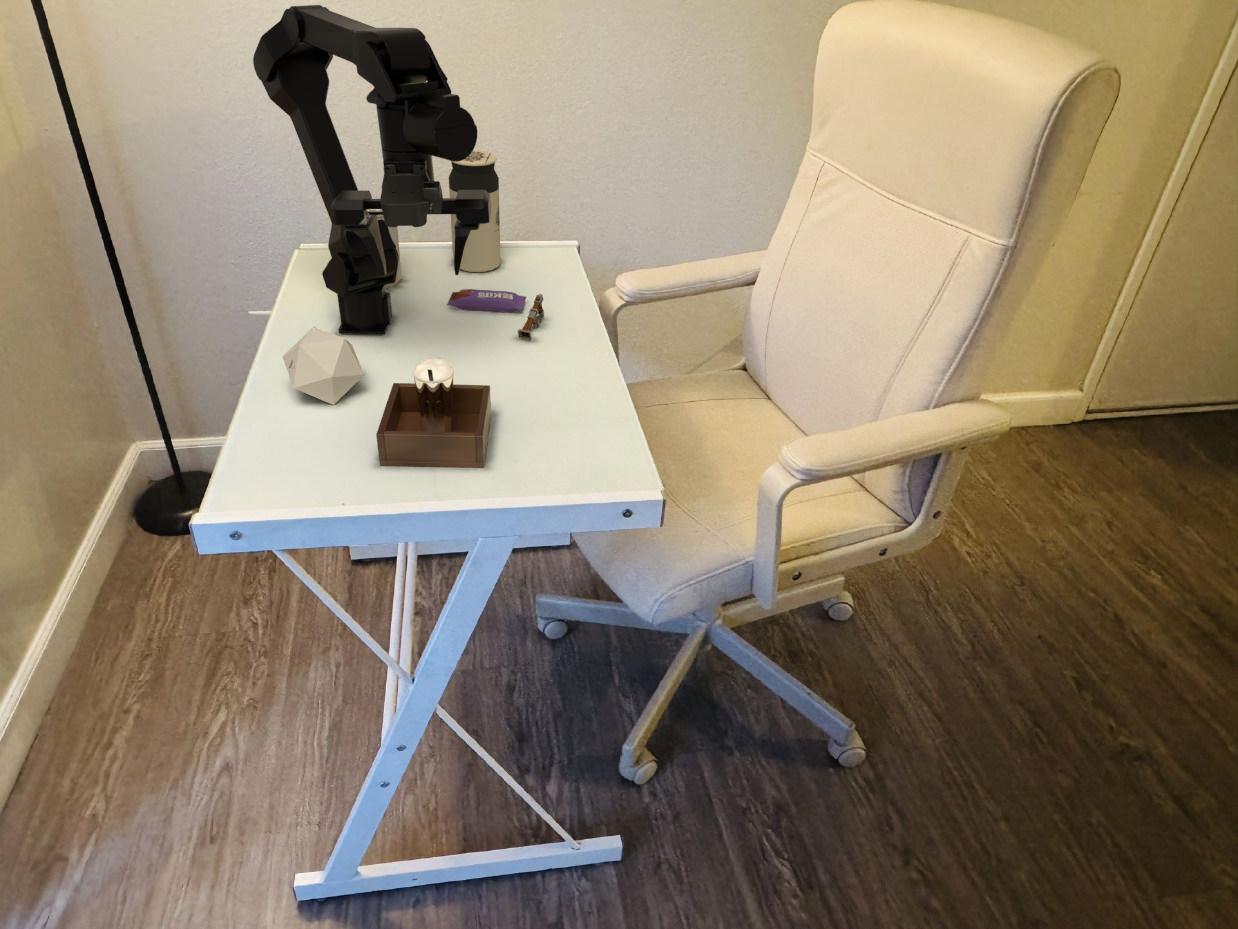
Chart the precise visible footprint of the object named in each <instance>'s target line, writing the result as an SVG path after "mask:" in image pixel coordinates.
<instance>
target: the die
mask: <svg viewBox="0 0 1238 929" xmlns="http://www.w3.org/2000/svg"><path fill="white" fill-rule="evenodd" d="M282 360H283V361H284V365H285V368H286V371H287V373H288V374H287V375H288V377H289V380H290V383H291V386H292V388H293V389H295V390H297V391H300V392H302V393H304V394H307V395H309V396H311V397H313V398H316V399H318V400H321V401H323V402H326V403H327V404H329V405H332V406H335V404H336V403H337V402H338V401H339V400H341V399H342V397H343V396H345V394H347V392H348V391H349V390H351V389H352V388H353V387H354V386H355V384H357V383H358V382H359V381H360V380H361V379H362V378H363V377H364V376H365V374H364V371H363V368H362V367H361V366H362V365H361V364H360V361H359V359H358V356H357V353H356V350H355V349H354V346H353V344H352V343H351V342H349V341H348V340H347V339H346V338H345V337H342V336H340V335H338V334H337V335H336V334H334V333H332V332H329V331H326V330H323V329H321V328H319V327H316V326H312V327H311V328H310V330H308V331H307V332H306V333H305V334H304V335H303V336H302V337H301V338H300V339H299V340H298V341H297V342H296V343H295V344H294V345H293V346H292V347H290V348H289V350H288V351H287V352H285V353H284V354H283V355H282Z"/></svg>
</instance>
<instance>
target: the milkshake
mask: <svg viewBox="0 0 1238 929" xmlns="http://www.w3.org/2000/svg"><path fill="white" fill-rule="evenodd" d="M412 376H413V380H414V383H415V386H416V391H417V396H418V402H419V408H420V414H421V420H422V426H423V432H451V427H452V393H453V384H454V377H455V369H454V367H453V365H452V364H451V363H449V361H446V360H445V359H442V358H428V359H423V360H421V361H419V362H418V363H417V364H415V366H414V367H413V370H412Z"/></svg>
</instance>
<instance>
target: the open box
mask: <svg viewBox="0 0 1238 929" xmlns="http://www.w3.org/2000/svg"><path fill="white" fill-rule="evenodd" d="M491 397H492V396H491V385H487V384H486V385H484V384H454V383H453V393H452V427H451V432H423V426H422V420H421V414H420V408H419V402H418V396H417V391H416V386H415V382H413V383H411V382H409V383H408V382H407V383H406V382H393V383H392V386H391V389H390V392H389V395H388V398H387V401H386V404H385V407H384V409H383V413H382V416H381V419H380V423H379V425H378V428H377V431H376V434H375V435H376V445H377V452H378V461H379V466H381V467H382V466H383V467H433V468H434V467H436V468H437V467H439V468H485V462H486V455H487V447H488V440H489V433H490V432H489V431H490V426H491V417H492V403H491V402H492V400H491Z"/></svg>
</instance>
